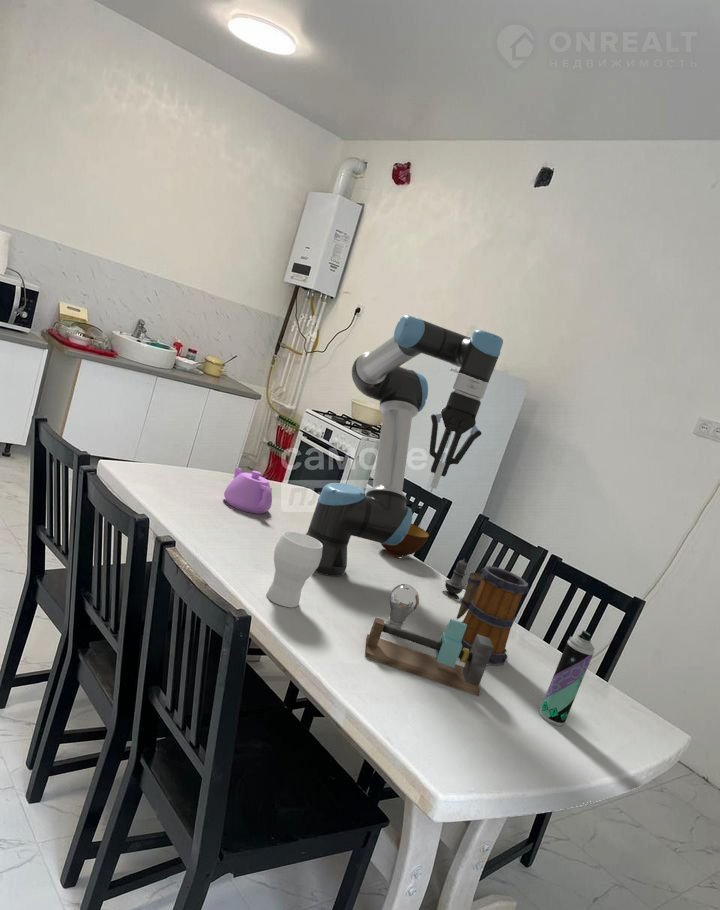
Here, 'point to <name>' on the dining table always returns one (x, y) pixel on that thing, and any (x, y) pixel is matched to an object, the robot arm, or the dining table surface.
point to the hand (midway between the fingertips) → (432, 486)
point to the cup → (293, 567)
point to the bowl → (408, 542)
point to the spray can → (567, 679)
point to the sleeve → (451, 643)
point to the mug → (491, 608)
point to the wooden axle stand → (429, 657)
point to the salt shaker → (455, 581)
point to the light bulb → (402, 604)
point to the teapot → (249, 492)
